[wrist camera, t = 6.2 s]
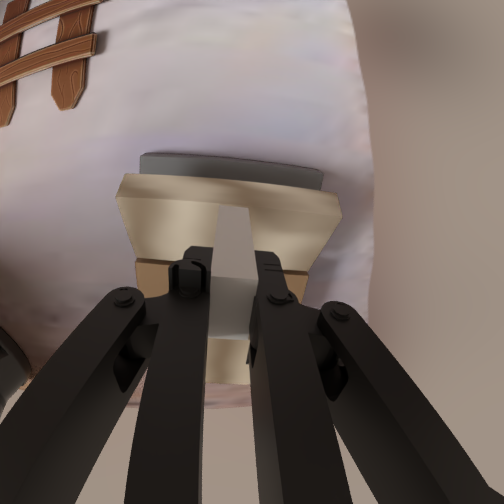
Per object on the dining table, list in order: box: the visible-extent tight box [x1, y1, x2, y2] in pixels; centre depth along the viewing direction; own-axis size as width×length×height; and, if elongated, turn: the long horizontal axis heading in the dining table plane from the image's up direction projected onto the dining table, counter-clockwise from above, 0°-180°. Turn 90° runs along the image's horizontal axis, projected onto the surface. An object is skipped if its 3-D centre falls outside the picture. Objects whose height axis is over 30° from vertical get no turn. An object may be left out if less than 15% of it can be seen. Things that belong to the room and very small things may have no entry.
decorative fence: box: [0, 0, 103, 128], centre depth 13 cm, size 23×2×15 cm
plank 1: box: [116, 174, 342, 271], centre depth 19 cm, size 14×7×2 cm, turn 83°
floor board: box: [135, 153, 323, 336], centre depth 25 cm, size 14×23×4 cm, turn 173°
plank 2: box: [205, 336, 250, 385], centre depth 28 cm, size 14×7×2 cm, turn 83°
